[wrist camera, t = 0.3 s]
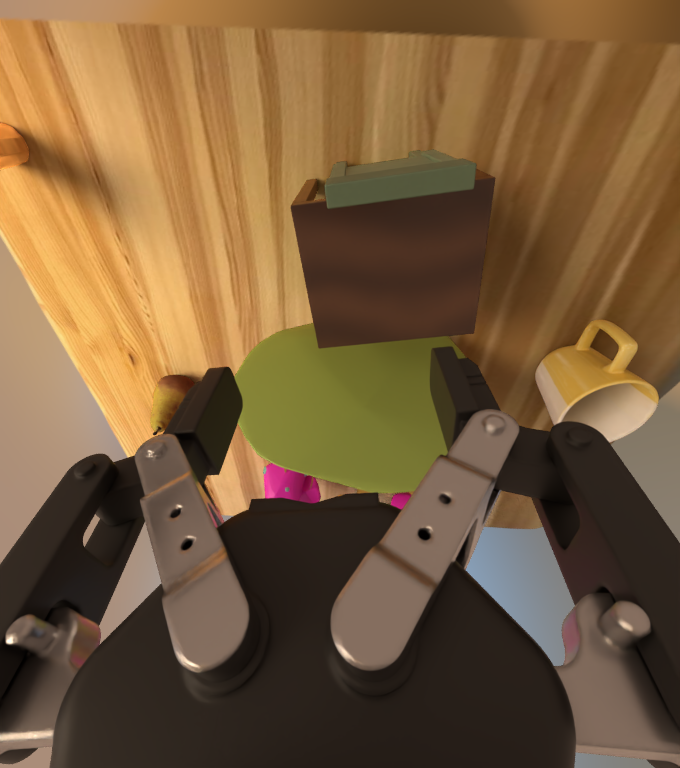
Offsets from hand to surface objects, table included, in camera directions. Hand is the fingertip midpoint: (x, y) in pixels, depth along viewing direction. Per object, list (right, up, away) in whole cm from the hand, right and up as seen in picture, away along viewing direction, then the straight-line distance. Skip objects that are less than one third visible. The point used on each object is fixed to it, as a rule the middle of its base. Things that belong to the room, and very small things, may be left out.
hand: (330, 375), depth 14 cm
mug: (+31, +4, +32) cm, 44 cm away
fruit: (-23, 0, +36) cm, 43 cm away
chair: (+4, +18, +21) cm, 28 cm away
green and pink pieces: (+2, -6, +41) cm, 41 cm away
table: (+5, +16, +23) cm, 28 cm away
